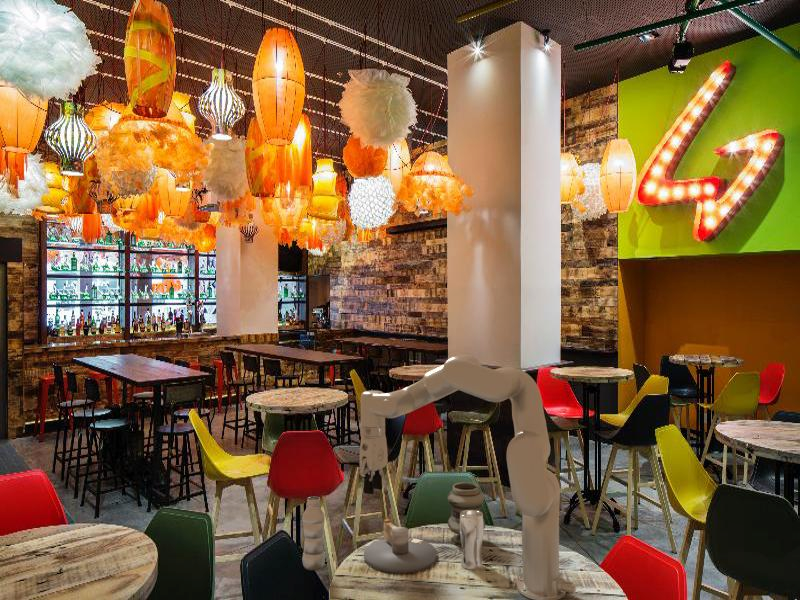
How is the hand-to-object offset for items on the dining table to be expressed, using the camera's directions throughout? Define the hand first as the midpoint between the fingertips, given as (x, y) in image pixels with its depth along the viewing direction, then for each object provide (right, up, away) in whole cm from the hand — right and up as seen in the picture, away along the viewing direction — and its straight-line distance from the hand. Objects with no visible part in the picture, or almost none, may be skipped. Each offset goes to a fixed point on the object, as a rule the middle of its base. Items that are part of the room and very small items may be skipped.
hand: (373, 490), depth 173 cm
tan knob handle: (+7, -18, +1) cm, 19 cm away
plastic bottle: (-17, -19, -10) cm, 27 cm away
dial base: (+8, -19, -3) cm, 21 cm away
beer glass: (+29, -19, -9) cm, 36 cm away
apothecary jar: (+30, -20, +9) cm, 37 cm away
